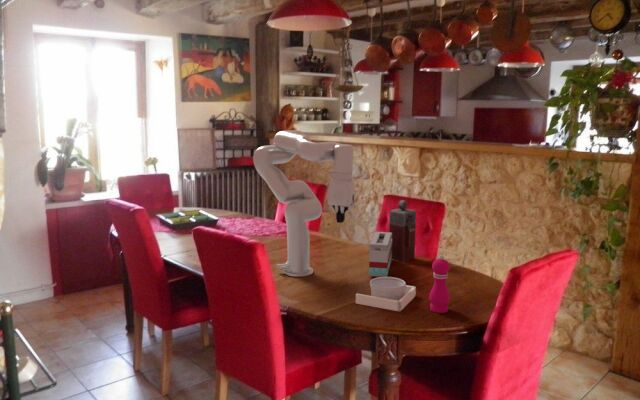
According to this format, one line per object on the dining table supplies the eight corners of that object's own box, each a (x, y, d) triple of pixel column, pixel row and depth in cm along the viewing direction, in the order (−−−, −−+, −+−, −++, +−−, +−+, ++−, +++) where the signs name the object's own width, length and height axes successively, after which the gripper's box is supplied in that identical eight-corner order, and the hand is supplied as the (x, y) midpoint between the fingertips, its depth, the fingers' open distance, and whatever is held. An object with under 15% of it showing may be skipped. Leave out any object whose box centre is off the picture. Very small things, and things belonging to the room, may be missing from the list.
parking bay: (355, 303, 191) (355, 294, 190) (374, 288, 207) (374, 280, 206) (400, 311, 183) (400, 302, 183) (415, 295, 199) (416, 286, 198)
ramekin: (369, 293, 202) (369, 275, 201) (403, 294, 201) (404, 276, 200) (369, 305, 189) (370, 287, 188) (406, 307, 188) (407, 288, 186)
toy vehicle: (392, 259, 246) (393, 228, 244) (387, 280, 217) (388, 245, 214) (375, 258, 248) (375, 227, 245) (368, 278, 219) (368, 244, 216)
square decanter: (407, 263, 240) (409, 203, 235) (388, 258, 248) (389, 200, 243) (418, 259, 246) (420, 201, 242) (399, 254, 254) (401, 198, 249)
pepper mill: (426, 306, 188) (428, 252, 185) (445, 305, 189) (448, 252, 185) (432, 313, 181) (434, 258, 178) (452, 313, 182) (455, 257, 178)
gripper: (320, 175, 203) (319, 221, 206) (355, 179, 196) (353, 227, 200) (329, 173, 209) (327, 217, 213) (364, 177, 202) (361, 223, 206)
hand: (340, 222), depth 206 cm, fingers closed
